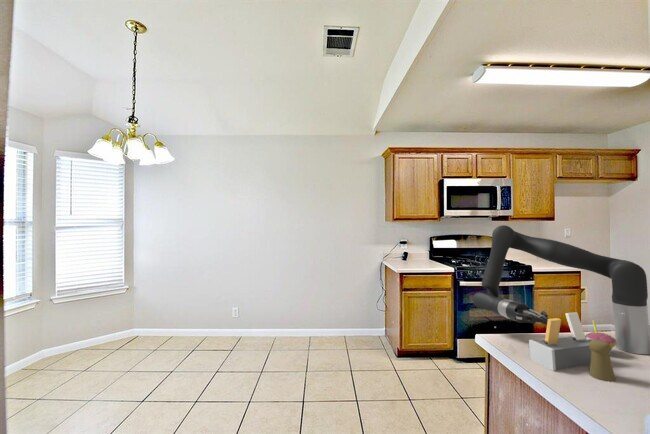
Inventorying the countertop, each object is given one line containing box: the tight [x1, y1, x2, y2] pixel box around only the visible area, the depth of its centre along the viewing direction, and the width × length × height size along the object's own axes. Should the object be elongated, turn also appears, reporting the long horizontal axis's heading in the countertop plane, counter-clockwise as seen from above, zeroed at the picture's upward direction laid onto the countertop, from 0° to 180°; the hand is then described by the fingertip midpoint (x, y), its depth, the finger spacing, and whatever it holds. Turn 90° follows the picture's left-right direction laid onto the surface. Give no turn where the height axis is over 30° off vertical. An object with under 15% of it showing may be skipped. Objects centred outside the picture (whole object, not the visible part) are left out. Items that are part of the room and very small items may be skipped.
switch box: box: [528, 336, 593, 372], centre depth 104 cm, size 21×9×7 cm, turn 99°
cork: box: [589, 340, 616, 383], centre depth 93 cm, size 6×6×11 cm
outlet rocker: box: [544, 317, 562, 344], centre depth 102 cm, size 4×1×9 cm, turn 99°
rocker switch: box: [564, 311, 586, 340], centre depth 106 cm, size 4×1×9 cm, turn 99°
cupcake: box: [585, 319, 617, 356], centre depth 110 cm, size 9×8×12 cm
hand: (552, 323), depth 102 cm, fingers closed
